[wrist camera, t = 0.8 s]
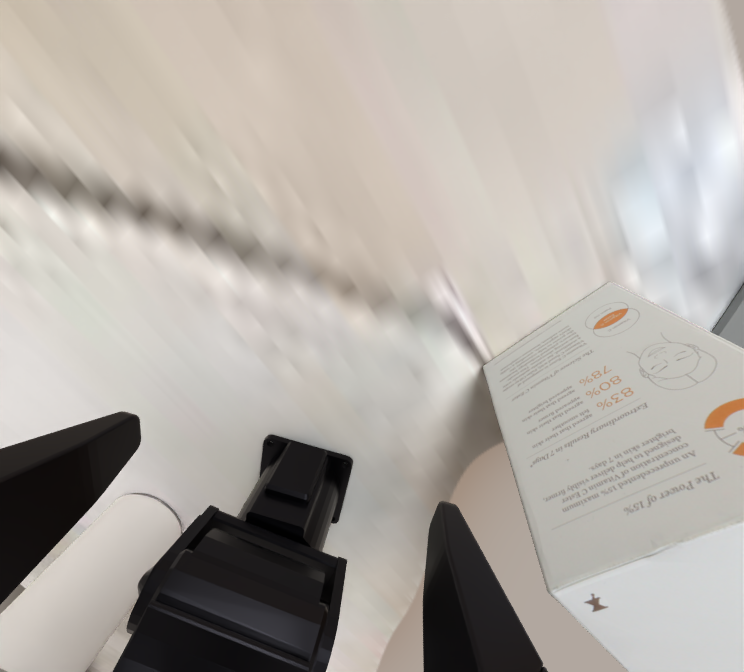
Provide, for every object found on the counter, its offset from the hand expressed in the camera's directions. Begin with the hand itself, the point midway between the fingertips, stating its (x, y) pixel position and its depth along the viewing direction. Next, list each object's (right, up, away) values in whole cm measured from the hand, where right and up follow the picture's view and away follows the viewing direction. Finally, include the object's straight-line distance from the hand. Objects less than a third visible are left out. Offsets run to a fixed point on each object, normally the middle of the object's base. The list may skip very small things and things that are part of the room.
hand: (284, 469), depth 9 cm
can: (-17, -13, +23) cm, 31 cm away
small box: (+14, +2, +11) cm, 18 cm away
